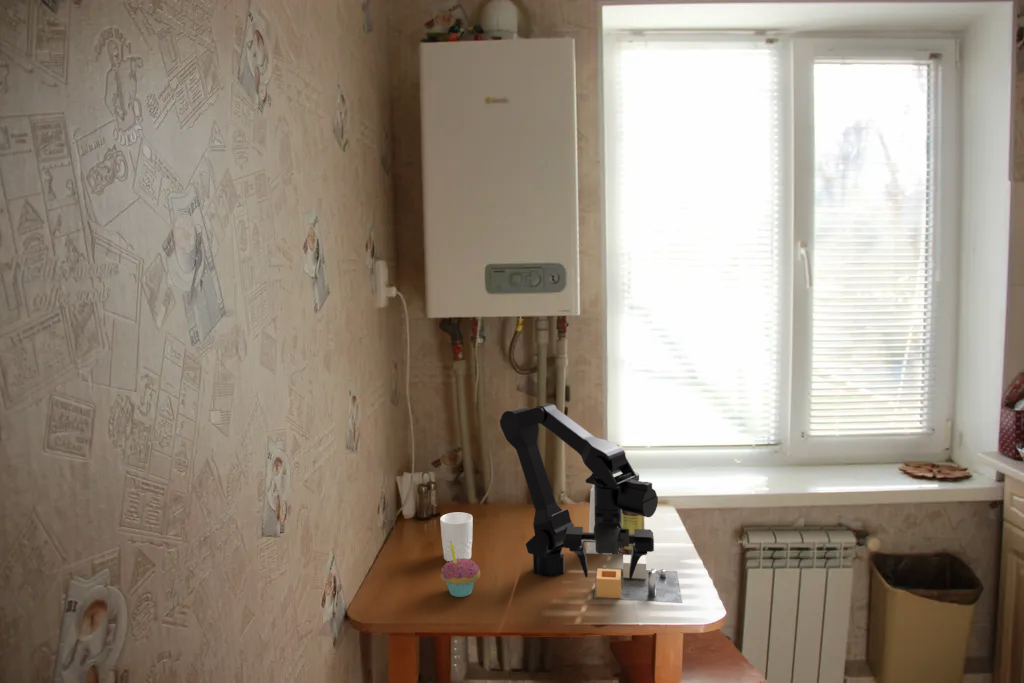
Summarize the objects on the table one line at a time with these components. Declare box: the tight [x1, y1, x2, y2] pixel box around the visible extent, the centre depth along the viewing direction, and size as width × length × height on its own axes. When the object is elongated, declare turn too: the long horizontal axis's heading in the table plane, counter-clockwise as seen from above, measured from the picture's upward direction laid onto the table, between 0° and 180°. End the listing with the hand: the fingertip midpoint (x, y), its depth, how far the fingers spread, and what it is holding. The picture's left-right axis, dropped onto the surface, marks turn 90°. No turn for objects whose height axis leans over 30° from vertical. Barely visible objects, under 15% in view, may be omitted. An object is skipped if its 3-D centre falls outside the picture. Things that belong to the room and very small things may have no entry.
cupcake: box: [440, 540, 481, 598], centre depth 155 cm, size 9×8×12 cm
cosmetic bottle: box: [586, 484, 612, 555], centre depth 174 cm, size 6×6×22 cm
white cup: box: [439, 511, 474, 562], centre depth 174 cm, size 8×8×10 cm
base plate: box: [593, 567, 683, 604], centre depth 155 cm, size 18×15×6 cm
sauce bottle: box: [620, 471, 645, 555], centre depth 174 cm, size 7×6×20 cm
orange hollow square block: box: [596, 568, 621, 598], centre depth 151 cm, size 5×5×4 cm
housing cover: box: [622, 554, 647, 579], centre depth 159 cm, size 5×4×3 cm
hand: (608, 577), depth 151 cm, fingers open, 9 cm apart
